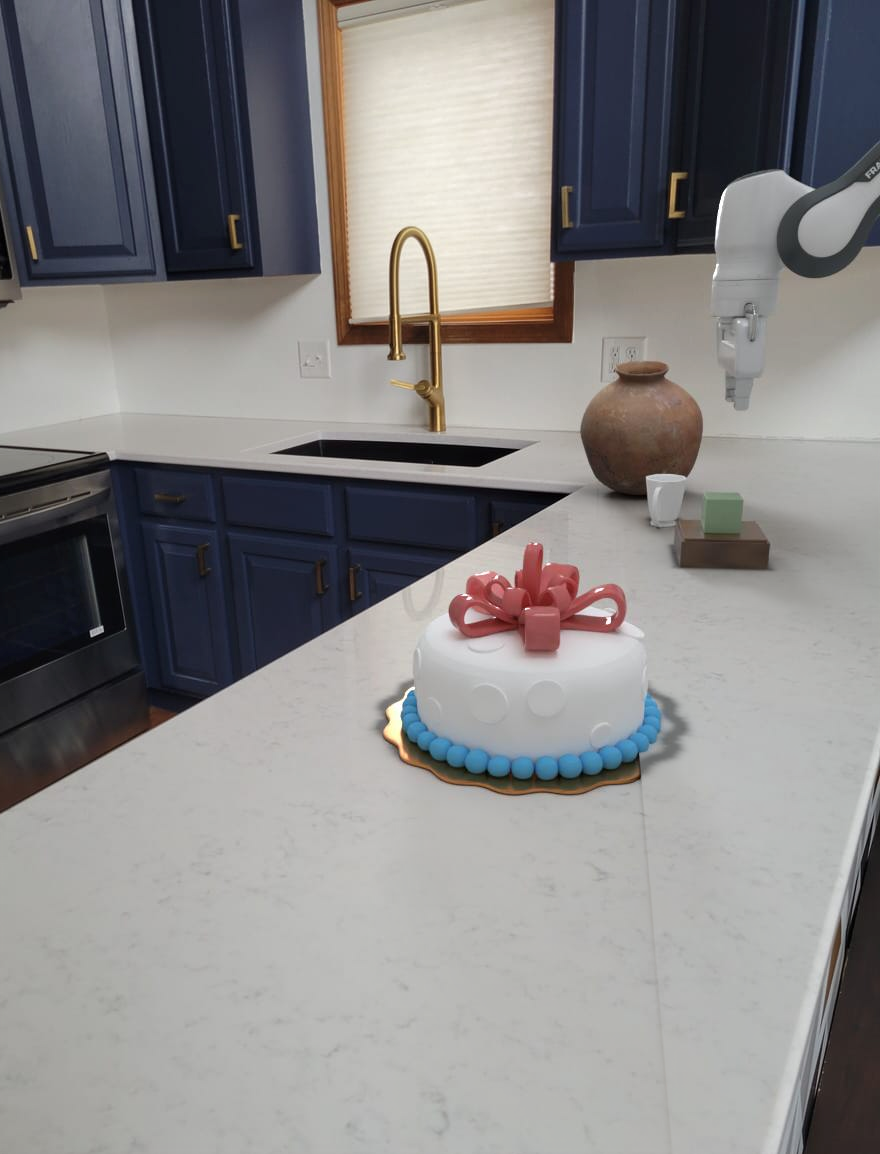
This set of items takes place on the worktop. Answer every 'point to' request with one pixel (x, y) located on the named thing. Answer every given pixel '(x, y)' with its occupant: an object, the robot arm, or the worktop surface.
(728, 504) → the block
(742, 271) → the robot arm
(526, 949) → the worktop surface
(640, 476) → the pottery
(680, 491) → the cup
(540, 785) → the wedding cake
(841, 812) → the worktop surface
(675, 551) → the block
